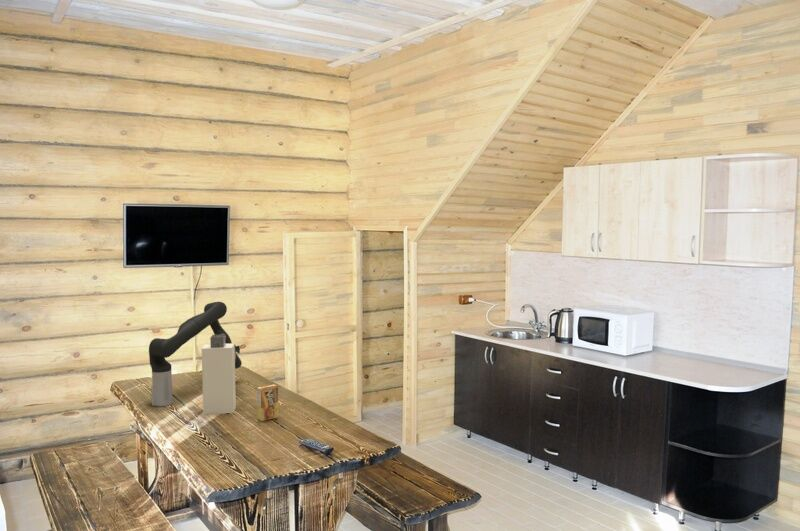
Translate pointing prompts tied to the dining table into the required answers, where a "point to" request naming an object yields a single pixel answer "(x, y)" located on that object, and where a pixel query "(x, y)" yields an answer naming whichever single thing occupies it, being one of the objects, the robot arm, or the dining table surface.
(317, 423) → the dining table surface
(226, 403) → the tall beige cuboid
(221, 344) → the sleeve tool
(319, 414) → the dining table surface
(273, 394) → the candy box
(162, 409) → the dining table surface
